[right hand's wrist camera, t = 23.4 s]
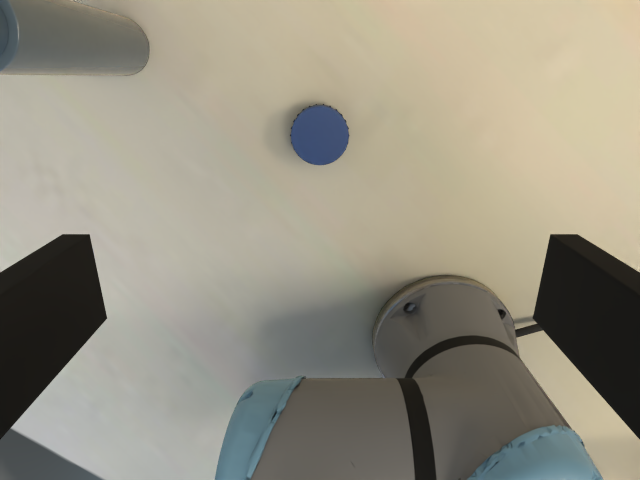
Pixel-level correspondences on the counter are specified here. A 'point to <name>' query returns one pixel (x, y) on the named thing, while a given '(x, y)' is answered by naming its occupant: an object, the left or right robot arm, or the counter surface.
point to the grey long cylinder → (68, 40)
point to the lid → (319, 134)
